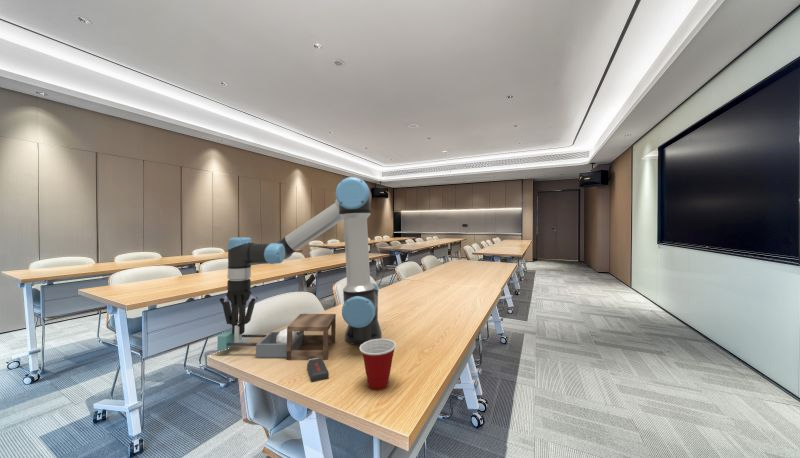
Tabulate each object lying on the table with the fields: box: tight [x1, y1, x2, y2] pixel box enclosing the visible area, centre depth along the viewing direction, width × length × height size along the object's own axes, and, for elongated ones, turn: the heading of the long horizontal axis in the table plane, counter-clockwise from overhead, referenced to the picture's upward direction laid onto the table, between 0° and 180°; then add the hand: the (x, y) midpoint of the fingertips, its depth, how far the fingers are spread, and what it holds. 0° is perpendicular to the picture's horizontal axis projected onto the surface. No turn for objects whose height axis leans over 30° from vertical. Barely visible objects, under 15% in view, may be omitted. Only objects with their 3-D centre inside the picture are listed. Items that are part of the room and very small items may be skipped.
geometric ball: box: [276, 327, 298, 344], centre depth 108 cm, size 8×8×8 cm
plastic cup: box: [359, 338, 397, 391], centre depth 85 cm, size 11×11×12 cm
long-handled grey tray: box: [217, 327, 304, 358], centre depth 107 cm, size 27×13×7 cm, turn 93°
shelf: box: [286, 313, 337, 361], centre depth 107 cm, size 14×15×12 cm
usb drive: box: [306, 358, 330, 383], centre depth 92 cm, size 5×12×3 cm, turn 25°
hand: (238, 342), depth 106 cm, fingers closed
